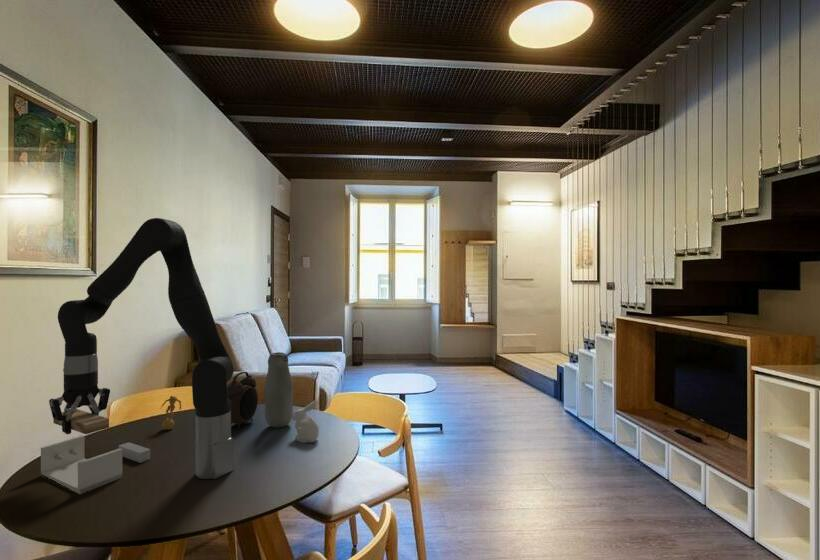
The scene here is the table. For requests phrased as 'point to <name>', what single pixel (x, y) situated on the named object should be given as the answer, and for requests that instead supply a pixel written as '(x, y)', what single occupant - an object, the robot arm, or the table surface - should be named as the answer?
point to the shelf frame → (79, 465)
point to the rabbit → (306, 424)
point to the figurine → (168, 422)
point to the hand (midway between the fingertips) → (81, 429)
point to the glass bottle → (278, 391)
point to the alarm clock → (242, 399)
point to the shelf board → (86, 422)
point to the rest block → (135, 452)
